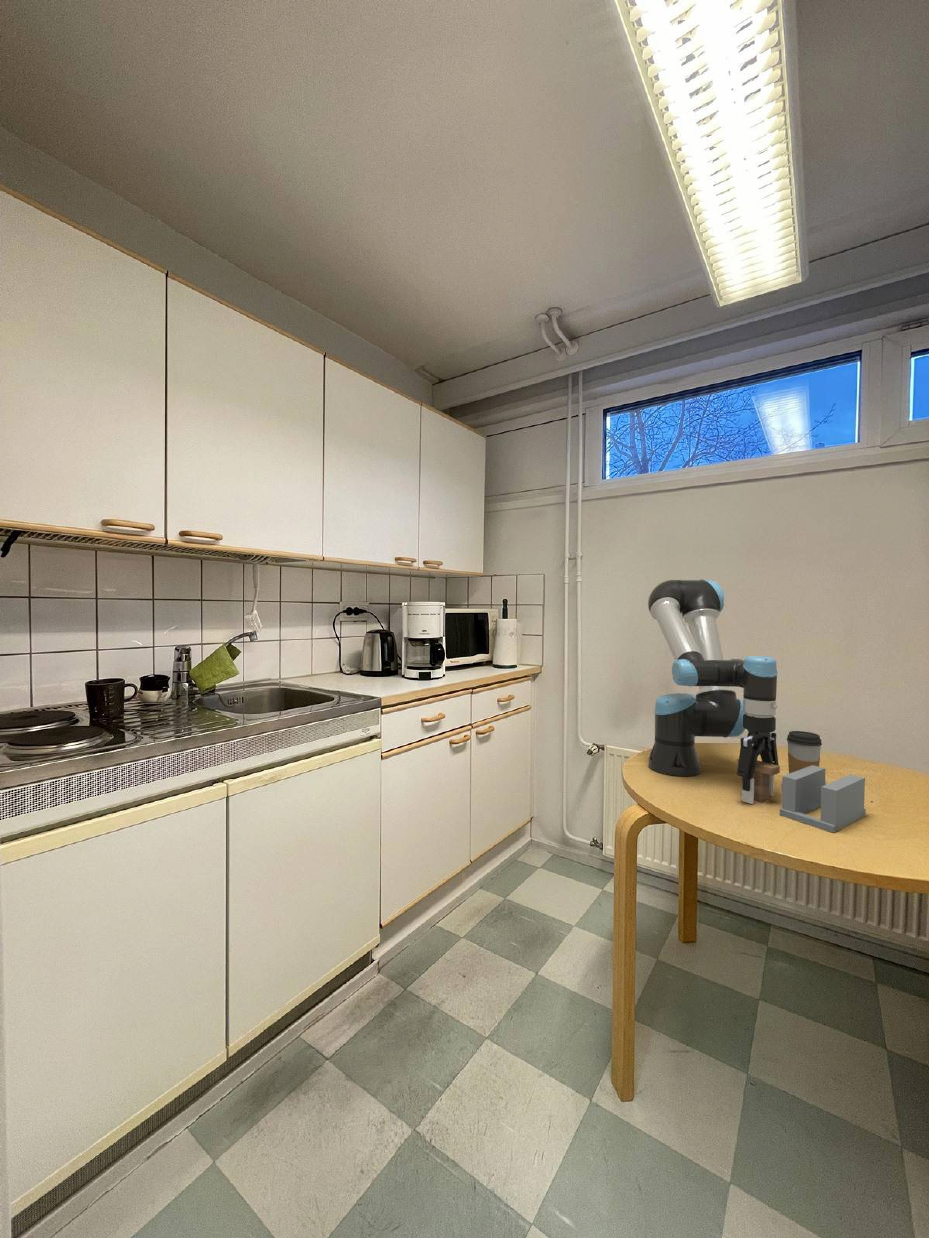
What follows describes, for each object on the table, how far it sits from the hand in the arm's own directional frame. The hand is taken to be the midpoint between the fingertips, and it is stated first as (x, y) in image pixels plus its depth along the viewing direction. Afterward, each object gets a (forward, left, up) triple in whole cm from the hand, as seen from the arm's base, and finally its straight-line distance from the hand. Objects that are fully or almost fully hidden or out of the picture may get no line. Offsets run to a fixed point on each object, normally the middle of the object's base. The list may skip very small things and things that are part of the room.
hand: (757, 798), depth 132 cm
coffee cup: (+2, +21, 0) cm, 21 cm away
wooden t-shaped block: (0, 0, 0) cm, 0 cm away
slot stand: (+14, +3, 0) cm, 14 cm away
